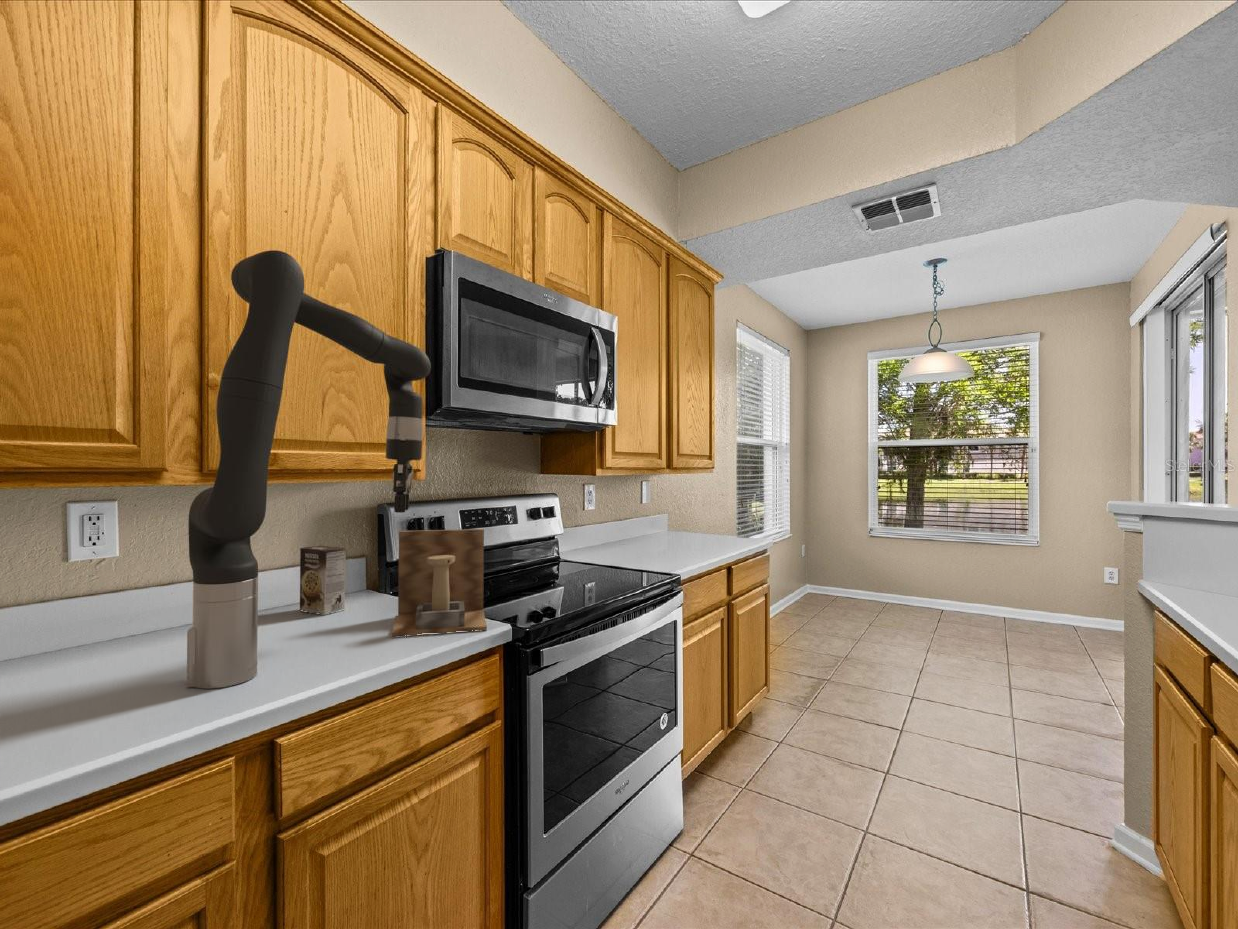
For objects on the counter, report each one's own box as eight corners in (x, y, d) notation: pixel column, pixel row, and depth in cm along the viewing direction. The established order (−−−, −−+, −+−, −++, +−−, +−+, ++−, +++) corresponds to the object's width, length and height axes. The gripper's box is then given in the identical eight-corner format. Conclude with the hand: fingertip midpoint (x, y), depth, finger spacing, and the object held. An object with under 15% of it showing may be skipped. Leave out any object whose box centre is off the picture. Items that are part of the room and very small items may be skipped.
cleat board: (391, 637, 122) (392, 539, 122) (399, 615, 141) (400, 530, 141) (486, 630, 128) (487, 537, 128) (482, 610, 146) (483, 528, 146)
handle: (458, 620, 132) (459, 556, 132) (436, 627, 127) (437, 559, 127) (444, 617, 135) (445, 554, 135) (422, 623, 129) (422, 557, 129)
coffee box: (298, 612, 143) (298, 547, 143) (320, 606, 149) (321, 544, 149) (324, 616, 139) (324, 550, 139) (346, 610, 145) (346, 546, 145)
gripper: (390, 439, 133) (387, 509, 132) (382, 435, 119) (379, 513, 119) (424, 441, 135) (421, 509, 134) (420, 437, 121) (417, 513, 121)
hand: (401, 511), depth 127 cm, fingers open, 8 cm apart
